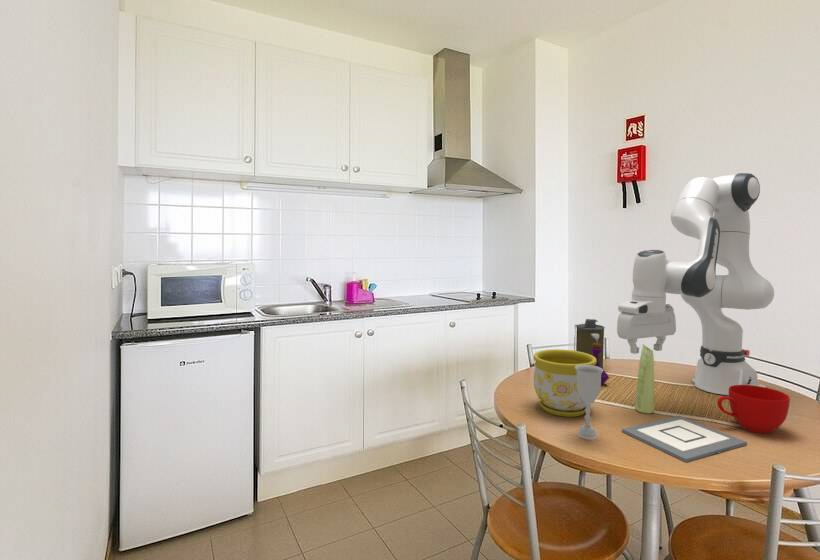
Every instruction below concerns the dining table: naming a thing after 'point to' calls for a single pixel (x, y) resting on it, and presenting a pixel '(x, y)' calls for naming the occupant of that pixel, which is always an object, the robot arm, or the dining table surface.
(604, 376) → the perfume bottle
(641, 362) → the tube
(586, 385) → the chalice
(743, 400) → the ceramic cup
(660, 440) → the picture frame
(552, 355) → the flowerpot
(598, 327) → the canister
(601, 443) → the dining table surface
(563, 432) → the dining table surface
